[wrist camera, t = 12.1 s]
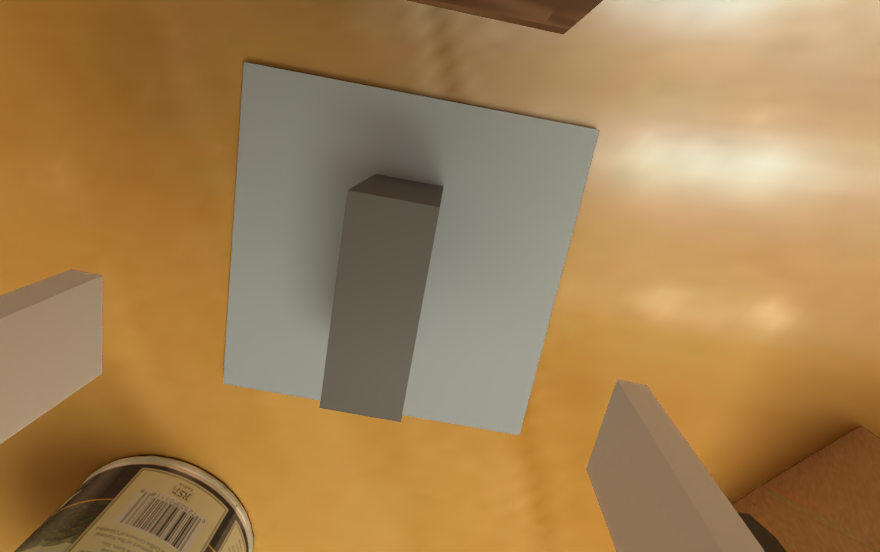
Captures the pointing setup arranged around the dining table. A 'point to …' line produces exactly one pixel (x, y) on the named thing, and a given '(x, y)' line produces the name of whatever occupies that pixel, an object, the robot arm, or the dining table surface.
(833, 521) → the sandwich container
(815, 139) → the dining table surface
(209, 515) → the coffee can
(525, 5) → the box
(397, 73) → the dining table surface
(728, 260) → the dining table surface
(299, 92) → the lid
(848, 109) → the dining table surface
